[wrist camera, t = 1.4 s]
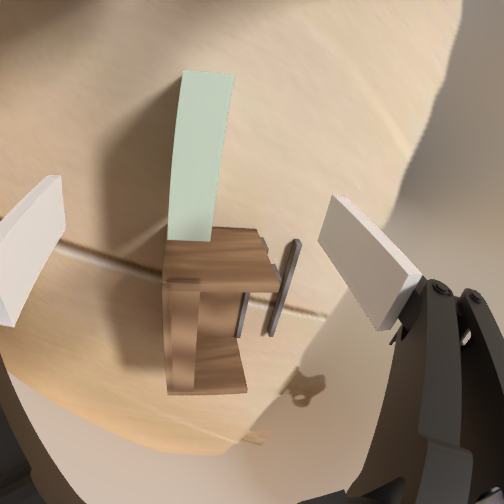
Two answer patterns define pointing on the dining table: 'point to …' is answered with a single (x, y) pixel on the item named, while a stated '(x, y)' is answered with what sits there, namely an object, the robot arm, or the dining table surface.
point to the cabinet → (214, 306)
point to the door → (198, 153)
